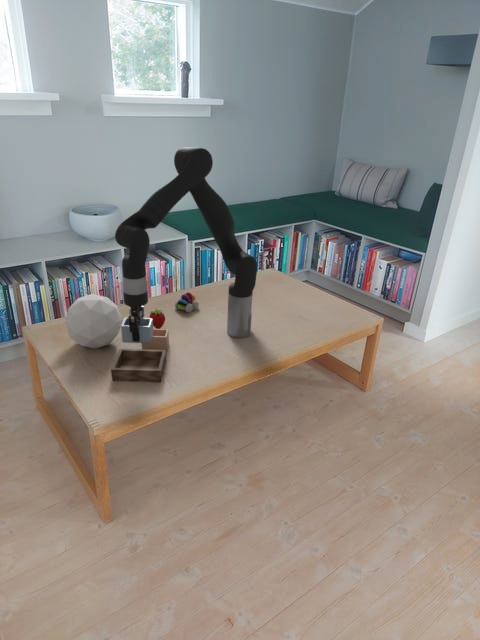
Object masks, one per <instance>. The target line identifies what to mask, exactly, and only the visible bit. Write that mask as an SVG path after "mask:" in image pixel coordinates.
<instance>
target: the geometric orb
mask: <svg viewBox="0 0 480 640" xmlns="http://www.w3.org/2000/svg"><path fill="white" fill-rule="evenodd" d="M64 323H65V326H66V329H67V333H68V336H69V338H70V339H72V341H74V342H76V344H78V345H79V346H81V347H86V348H91V349H99V348H102V347H106V346H108V345H111V343H113V341H114V340H115V339H116V337H117V336H118V335H119V332H120V329H121V325H122V323H123V318H122V316H121V313H120V310H119V308H118V306H117V304H116V303H114V302H113V301H112V300H111V299H110V298H109V297H106V296H104V295H103V296H102V295H99V294H94V293H90V294H88V295H85V296H82V297H78V298H77V299H76V300H75V301H73V303H72V304H71V306H69V307H68V309H67V313H66V316H65V321H64Z"/></svg>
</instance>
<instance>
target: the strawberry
mask: <svg viewBox="0 0 480 640" xmlns="http://www.w3.org/2000/svg"><path fill="white" fill-rule="evenodd" d="M162 311H163V309H162V310H161V309H160V310H158V308H155V310H154V311H152V310H151V311H150V312H149V313H148V314H149V317H148V318H153V328H154V329H162V327H163V326H164V324H165V322H166V317H165V316H166V315H165V314H164V312H162Z"/></svg>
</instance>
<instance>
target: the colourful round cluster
mask: <svg viewBox="0 0 480 640" xmlns="http://www.w3.org/2000/svg"><path fill="white" fill-rule="evenodd" d="M199 304H200V303H199V301H198V300H196V296H195V295H194V294H192V293H191V292H189V291H188V292H186V293H184V294H183V293H182V295H181V296H180V298H178V300H176V301H175V302H174V307H175V309H176V310H183V311H185V312H186V313H188V314H189V313H191V312H192V311H193V310H197V309H198V307H199Z"/></svg>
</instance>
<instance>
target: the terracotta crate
mask: <svg viewBox="0 0 480 640" xmlns="http://www.w3.org/2000/svg"><path fill="white" fill-rule="evenodd" d="M169 334H170V333H169V329H168V328H160V329H156V328H153V337H152V340H151V343H141V349H144V350H166V352H168V348H169V344H170V340H169V339H170V338H169V337H170V336H169Z"/></svg>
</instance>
